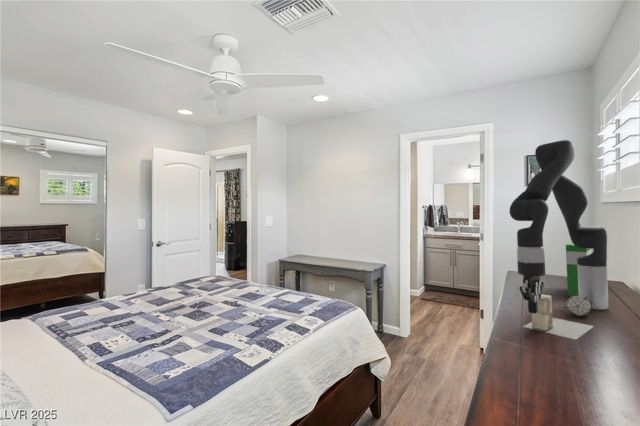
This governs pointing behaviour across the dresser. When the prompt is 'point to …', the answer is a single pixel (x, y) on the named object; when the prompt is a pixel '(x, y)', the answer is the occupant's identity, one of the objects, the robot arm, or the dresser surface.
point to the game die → (578, 305)
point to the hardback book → (574, 266)
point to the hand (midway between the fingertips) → (533, 312)
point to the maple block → (543, 314)
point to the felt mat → (566, 328)
